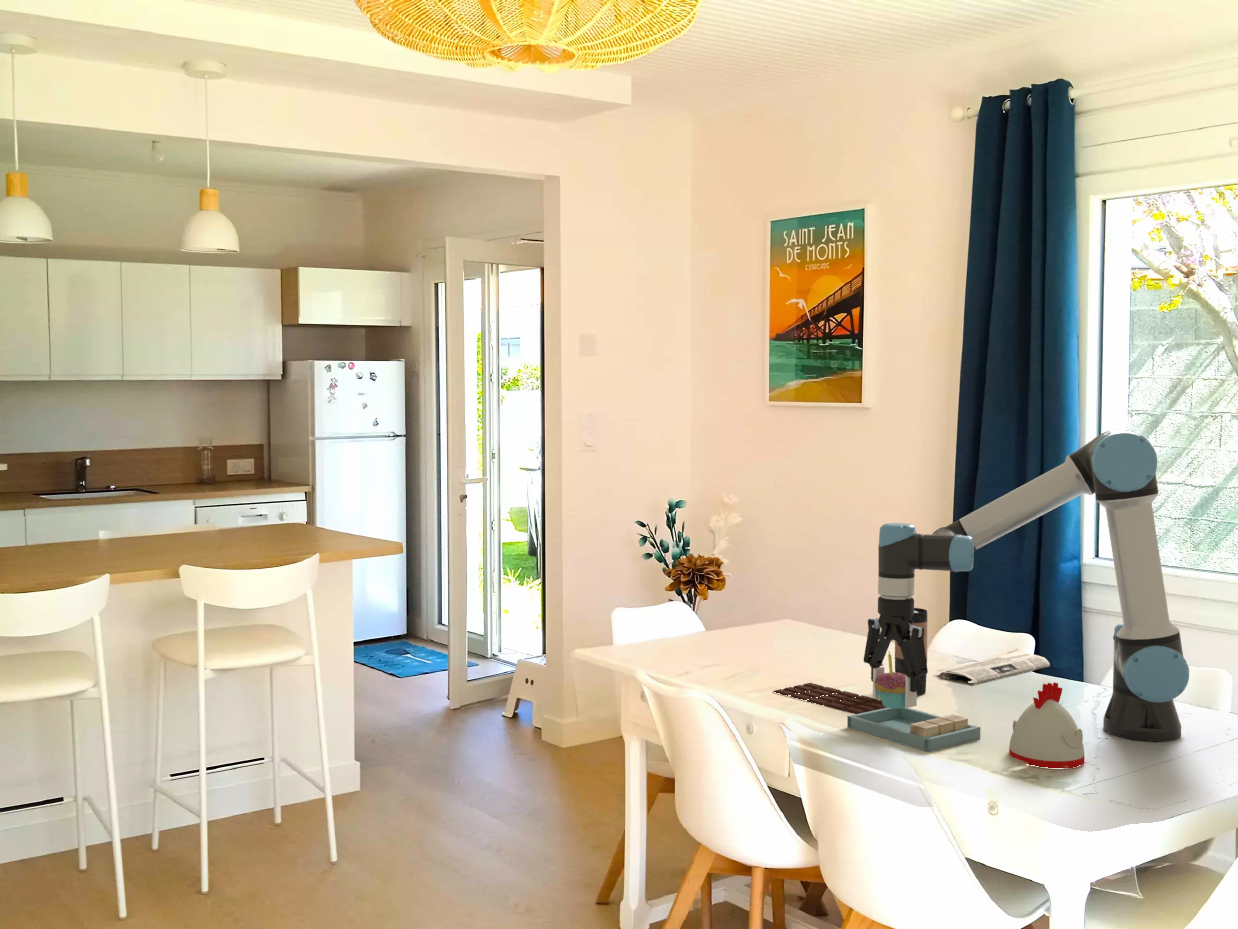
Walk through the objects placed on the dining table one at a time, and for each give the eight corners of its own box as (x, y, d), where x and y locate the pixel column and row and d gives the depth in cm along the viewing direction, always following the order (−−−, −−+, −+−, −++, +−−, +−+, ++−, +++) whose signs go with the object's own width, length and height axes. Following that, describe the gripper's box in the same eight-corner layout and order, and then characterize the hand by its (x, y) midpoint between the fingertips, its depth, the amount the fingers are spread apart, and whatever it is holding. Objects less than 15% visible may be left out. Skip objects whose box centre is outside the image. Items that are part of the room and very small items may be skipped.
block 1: (938, 745, 240) (938, 725, 240) (925, 748, 238) (925, 728, 238) (923, 740, 244) (923, 721, 243) (910, 743, 241) (910, 724, 241)
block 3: (967, 737, 246) (967, 718, 245) (954, 740, 243) (955, 721, 243) (952, 733, 249) (952, 714, 249) (939, 736, 247) (939, 717, 246)
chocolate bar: (771, 694, 287) (771, 690, 287) (809, 686, 295) (809, 682, 295) (859, 717, 266) (859, 712, 266) (897, 707, 274) (897, 703, 274)
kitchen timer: (1098, 761, 231) (1100, 685, 231) (1056, 774, 223) (1057, 695, 223) (1037, 745, 243) (1038, 672, 242) (994, 756, 235) (995, 681, 234)
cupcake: (898, 713, 247) (899, 656, 247) (865, 705, 254) (866, 649, 253) (922, 706, 253) (923, 650, 252) (889, 698, 259) (890, 644, 259)
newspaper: (974, 687, 294) (974, 673, 294) (932, 678, 304) (932, 664, 304) (1052, 667, 316) (1052, 654, 316) (1011, 659, 326) (1011, 647, 326)
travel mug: (927, 696, 283) (928, 613, 282) (894, 695, 284) (895, 612, 283) (926, 689, 290) (926, 608, 289) (893, 687, 292) (894, 607, 291)
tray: (980, 741, 245) (980, 727, 245) (928, 754, 236) (928, 739, 236) (898, 718, 263) (898, 705, 263) (847, 730, 254) (847, 716, 254)
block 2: (953, 741, 243) (953, 722, 243) (940, 744, 241) (940, 725, 240) (937, 736, 246) (938, 717, 246) (924, 740, 244) (925, 720, 244)
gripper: (947, 601, 245) (945, 710, 247) (871, 588, 263) (869, 689, 264) (923, 605, 241) (921, 715, 242) (847, 591, 258) (845, 694, 260)
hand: (894, 701), depth 253 cm, fingers closed on cupcake, 8 cm apart
